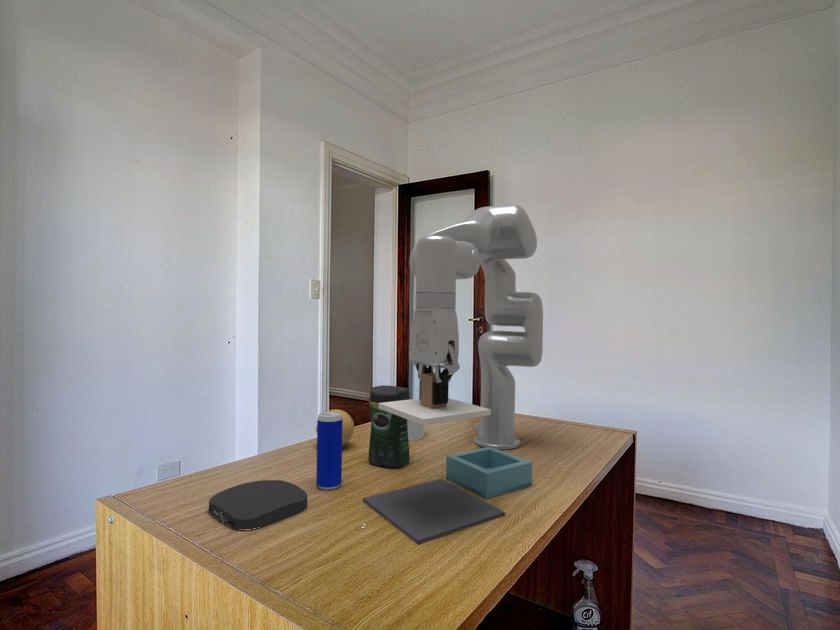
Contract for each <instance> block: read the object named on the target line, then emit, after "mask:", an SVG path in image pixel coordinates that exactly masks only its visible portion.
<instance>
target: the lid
mask: <svg viewBox="0 0 840 630" xmlns="http://www.w3.org/2000/svg"><path fill="white" fill-rule="evenodd" d="M433 382H436V381H435V372H433V373H421V400H420V399H419V398H410V400H401V401H392V402H383V403H379V406H378V408H379V409H382V410H384V411H387V412H390V413H392V414H395V415H397V416H400V417H403V418H405V419H408V420H410V421H413V422H416V423H418V424H421V425H425V426H429V425H435V424H441V423H448V422H455V421H460V420H466V419H474V418H479V417H481V416H488V415H491V409H487V408H483V407H481V405H480V406H479V405H476V404H473V403H469V402H464V401H462V400H457V399H453V398H450V397H448V403H447V404H439V405H434V404H433Z"/></svg>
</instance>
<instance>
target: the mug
mask: <svg viewBox="0 0 840 630" xmlns="http://www.w3.org/2000/svg"><path fill="white" fill-rule="evenodd" d="M407 427H408V441H409V442H414V441H413V440H416V441H420V440H422V439H424V438H423V437H425V430H426V428H425V427H426V425H421V424H418V423H416V422H413V421H410V420H408V419H407ZM419 439H420V440H419Z"/></svg>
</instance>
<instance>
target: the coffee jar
mask: <svg viewBox="0 0 840 630" xmlns="http://www.w3.org/2000/svg"><path fill="white" fill-rule="evenodd" d="M410 399H411V397H410V391H409V388H407V387H403V386H402V387H401V386H395V385H384V384H383V385H377V386H373V387H372V388H371V390H370V394H369V401H368V404H369V407H370V413H371V414H370V415H371V416H370V417H371V419H370V433H369V434H370V436H369V443H368V444H369V446H368V461H369V463H370V464H373V465H377V466H380V467H381V466H382V467H386V468H397V467H403V466H405V465H406V464H408V463H409V462H410V443H409V442H410V441H408V427H407V419H405V418H403V417H400V416H397V415H395V414H392V413H390V412H387V411H384V410H382V409H379V408H378V406H379V403H383V402H392V401H401V400H410Z"/></svg>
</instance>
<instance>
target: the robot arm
mask: <svg viewBox="0 0 840 630" xmlns="http://www.w3.org/2000/svg"><path fill="white" fill-rule="evenodd" d="M537 247H538V238H537V234H536V229H534V225H533V223H532V221H531V219H530V216H529V215H528V213H527V211H526V210H525V209H524V208H523V207H522V206H520V205H519V204H503V205H501V204H500V205H492V206H490V205H489V206H483V207H482V206H481V207H479V208H477V209H475V210H473V212H471V213H470V214H469V215H468V216H467V217H466V218H465V219H464V220H462V221H461V222H459V223H456V224H453V225H450V226H448V227H446V228H443V229H439V230H437V231H435V232H432V233H429V234H428V235H426V236H422V237H421V238H418V240H417V243H416V244H415V245H414V246H413V248H412V250H411V252H410V255H409V268H410V271H411V273H412V274H413V276H415V298H414V299H415V300H414V301H415V304H414V305H415V310H413V314H412V320H411V325H410V333H409V347H408V348H409V349H408V357H409V360H410V361H411V362H412V364H413V365H414V366H415V368H416V370H417V377H418V380H419V391H418V392H419V395H418V397H419V398H418V399H420V400H421V373H435V381H436V382H433V404H434V405H439V404H447V403H448V398H449V383H450V382H451V380H452V377H453V375H454V374H455V373H457V372H458V371H459V370H460V364H459V355H460V354H459V352H460V351H459V350H460V344H459V343H460V340H459V339H460V337H459V336H460V334H459V324H458V323H459V322H458V315H457V311H456V306H457V303H456V299H457V294H456V293H457V291H456V290H457V289H456V288H457V280H467V279H471V278H473V277H474V276H475V275H476V274H478V273H479V271H480V270H479V269H480V267H481V269H482V271H483V274H484V319H485V321H486V322H487V323H488V324H490V325H492V326H498V327H520V328H521V327H522V328H524V331H513V330H489V331H487V332H484V333H482V334H481V336H479V339H478V343H477V344H478V346H477V347H478V355H479V356H478V357H479V362H480V407H483V408H487V409H491V415H488V416H481V417H480V419H479V421H478V422H476V424H473V426H472V429H473V430H474V431H477V434H476V435H475V436H474V443H475V445H478V446H479V447H481V448H485V447H492V448H495V449H498V450H512V449H515V448H518V447H519V446H520V445H521V442H520V439H519V438H518V437H516V436H515V423H516V422H515V419H516V416H515V415H516V414H515V412H516V380H515V377H514V376H513V373H512V372H511V371H510V369H509V368H508V367H509V366H510V367H524V368H525V367H527V368H533V367H537V366H539V365H540V364H541V361H542V357H543V348H544V347H543V343H544V341H543V337H544V334H543V333H544V306H543V302H542V297H540V295H539V294H537V293H536V292H531V291H529V292H528V291H517V290H516V289H517V287H516V283H517V282H516V280H517V276H516V272H515V270H514V268H513V267H512V266H511V265H510V263H509V262H508V261H507V260H517V259H528V258H531V257H532V256H534V254H535V253H536V251H537ZM442 369H443V370H442Z"/></svg>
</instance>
